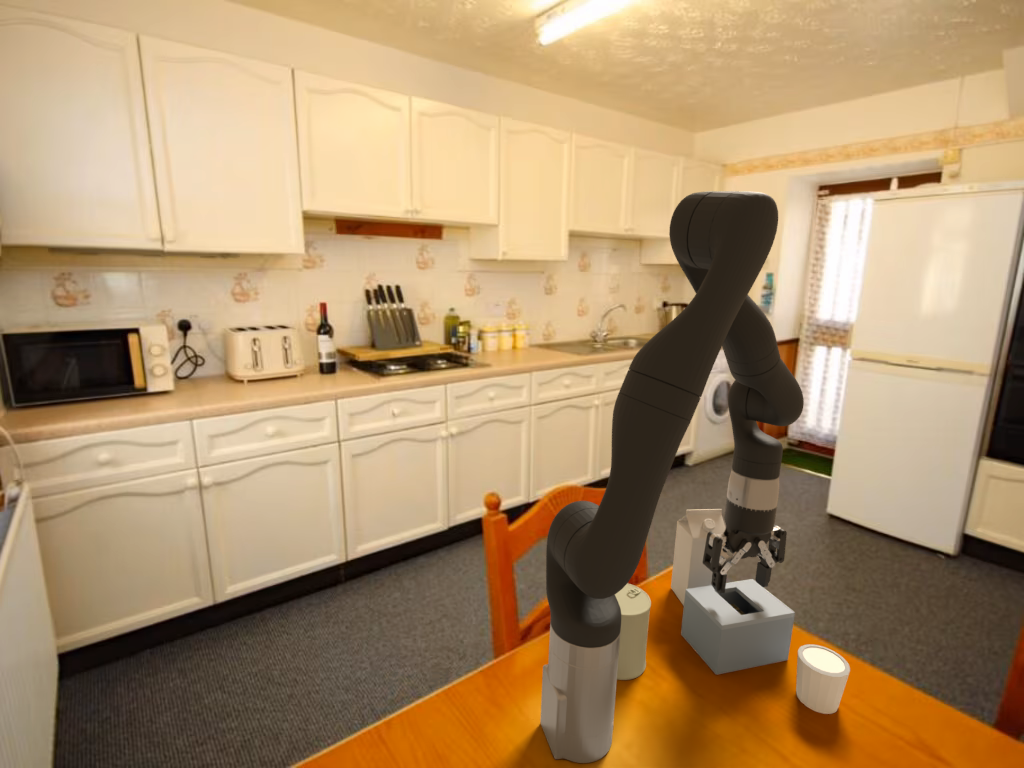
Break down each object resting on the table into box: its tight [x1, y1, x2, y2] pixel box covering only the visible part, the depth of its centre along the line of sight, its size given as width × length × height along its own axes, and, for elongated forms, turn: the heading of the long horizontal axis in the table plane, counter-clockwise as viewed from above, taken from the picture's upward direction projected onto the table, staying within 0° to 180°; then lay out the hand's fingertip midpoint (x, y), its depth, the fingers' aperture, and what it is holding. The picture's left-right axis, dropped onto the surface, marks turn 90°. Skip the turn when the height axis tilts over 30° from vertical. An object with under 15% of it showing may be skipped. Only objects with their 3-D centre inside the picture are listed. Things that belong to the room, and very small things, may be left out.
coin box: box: [680, 578, 796, 675], centre depth 90 cm, size 14×10×9 cm
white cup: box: [795, 643, 851, 715], centre depth 80 cm, size 7×7×7 cm
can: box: [615, 582, 652, 681], centre depth 86 cm, size 9×9×12 cm
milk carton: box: [670, 508, 726, 607], centre depth 103 cm, size 7×7×19 cm
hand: (740, 587), depth 89 cm, fingers open, 8 cm apart
